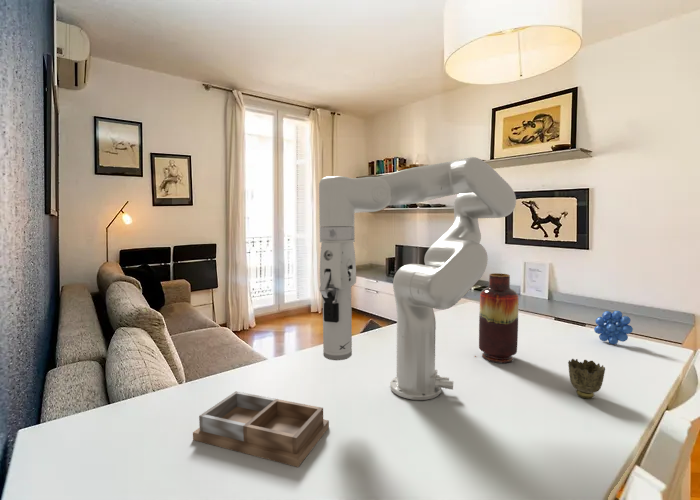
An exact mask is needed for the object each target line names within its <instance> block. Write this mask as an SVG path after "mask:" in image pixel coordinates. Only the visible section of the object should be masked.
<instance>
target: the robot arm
mask: <svg viewBox="0 0 700 500" xmlns="http://www.w3.org/2000/svg"><path fill="white" fill-rule="evenodd" d="M454 195H456V196H455V199H454V202H453V213H454V214H453V223H452V225H451V227H450V228H449V229H448V230H446V232H445V233H443V234H442V235H441V236H440V237H439V238H438V239H437V240H436V241H435V242H434V243H433V244H432V245H431V246H429V247H428V248H427V251H426V252H425V254H424V260H423V261H424V264H421V263H420V264H419V263H408V264H404V265H403V266H401V267H399V269H398V270H397V271H396V272H395V274H394V277H393V280H392V281H393V282H392V288H393V293H394V300H395V306H396V377H394V378H393V379H391V381H390V390H391V391H392V392H393V394H395V395H397V396H399V397H401V398H404V399H406V400H413V401H427V400H432V399H434V398H437V397H438V396H439V395H440V394H441V393H442V388H443V389H447V390H454V381H453V380H450V377H448V376H440V375H438V369H436V330H437V325H436V323H437V321H436V315H435V311H434V310H441V311H442V310H448V309H450V308H452V307H454V306H455V305H457V303H458V302H459V301H460V300H461V299H462V298H463V297H465V296H466V294H467V293H468V292H469V291H470V290H471V289H472V288H473V287H474V286H475V284H477V283H478V281H480V280H481V278H482V277H483V276H484V274H485V272H486V269H487V266H488V262H489V261H488V260H489V258H488V253H487V250H486V248H485V247H484V245H482V244H481V240H482V235H481V234H482V233H481V230H480V225H479V219H500V218H506V217H507V216H509V215H511V214H512V213H513V211H514V209H515V208H516V205H517V197H516V193H515V192H514V189H513V188H512V186H511V185H510V184H509V183H508V182H507V181H506V180H505V179H504V178H503V177H502V176H501V175H500V174H499V173H498V172H497V171H496V170H495V168H493V167H492V166H491V165H490V164H488V163H487V162H485V161H484V160H483V159H481V158H479V157H474V156H471V157H466V158H460V159H457V160H450V161H446V162H440V163H434V164H430V165H428V164H427V165H421V166H416V167H415V166H414V167H411V168H406V169H402V170H399V171H398V170H397V171H395V172H392V173H389V174H384V175H380V176H366V177H356V178H355V177H353V178H351V177H348V176H342V175H336V176H335V175H334V176H333V175H332V176H325V177H323V178H321V179H320V180H319V183H318V205H319V207H318V210H319V213H318V215H319V217H318V218H319V219H318V220H319V222H318V223H319V243H321V245H320V253H319V254H320V256H319V283H320V284H319V291H320V294H321V298H322V304H323V303H324V321H325V322H335V323H337V322H338V321H339V303H337V298H338V291H339V290H344V289H346V288H347V287H348V285H349V284H348V282H349V277H348V276H349V274H348V271H350V273H351V276H350V278H351V283H350V284H351V288H352V286H355V284H356V283H357V265H356V264H357V263H356V250H355V244H354V243H355V241H356V240H355V239H356V238H355V233H356V232H355V228H356V227H355V214H357V213H358V214H359V213H373V212H379V211H382V210H384V209H386V207H388V206H399V205H411V204H418V203H419V204H420V203H423V202H428V201H432V200H436V199H440V198H444V197H445V198H446V197H449V196H450V197H451V196H454ZM350 265H352V266H353V269H349V268H348V267H349V266H350ZM348 269H349V270H348ZM329 285H333V286H335V288H329ZM329 291H331V292H334V294H333V295H332V293H331V292H329Z"/></svg>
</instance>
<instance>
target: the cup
mask: <svg viewBox="0 0 700 500" xmlns="http://www.w3.org/2000/svg"><path fill="white" fill-rule="evenodd" d="M578 360H579V359H578V358H576V359H574V358H571V359H570V360H568V362H567V363H568V374H569V381H570V384H571V385H572V386H573V388H574V389H575V393H576V395H577V396H578V397H580V398H582V399H587V400H591V399H593V398H594V397H595V393H597V392H599V391H600V390H601V388H602V386H603V382H604V377H605V372H606V367H605V366H604V365H603V364H602V365H600V363H599V362H598V363H596V362H595V361H593V360H587V359H584V360H583V362H582V361H578Z"/></svg>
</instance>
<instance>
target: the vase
mask: <svg viewBox="0 0 700 500" xmlns="http://www.w3.org/2000/svg"><path fill="white" fill-rule="evenodd" d="M488 276H489V277H488V278H489V279H488V287H486V288H484V289H482V290H481V291H480V293H479V316H478V319H479V320H478V322H479V323H478V348H479V350H481V352H483V353H482V354H481V357H482V358H483V359H484V360H486V361H488V362H491V363H494V364H495V363H497V364H509V363H510V364H511V363H512V362H513V361H514V357H513V356H514V355H516V354H517V352H518V338H519V337H518V334H519V310H520V309H519V302H520V301H519V298H520V297H519V294H518V293H517V291H515V290H514V289H512V288H511V285H510V284H511V282H510V281H511V279H510V278H511V277H510V276H511V275H510V274H508V273H501V272H499V273H497V272H496V273H494V272H493V273H489V275H488Z"/></svg>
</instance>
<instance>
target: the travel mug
mask: <svg viewBox="0 0 700 500" xmlns="http://www.w3.org/2000/svg"><path fill="white" fill-rule="evenodd" d="M348 268H349V269H353V266H352V265H350V266H349V267H348ZM349 269H348V270H349ZM348 274H349V276H348V277H349V282H348V284H349V285H348V287H347V288H346V289H344V290H339V291H338V298H337V303H339V321H338V322H337V323H335V322H325V321H324V303H323V302H322V340H323V341H322V344H323V345H322V346H323V348H322V349H323V353H322V355H323V357H324V358H325V359H327V360H330V361H345V360H347V359H350V358H351V357H352V355H353V353H352V352H353V348H352V347H353V346H352V345H353V343H352V342H353V341H352V339H353V338H352V336H353V335H352V333H353V332H352V330H353V325H352V323H353V322H352V320H353V319H352V317H353V316H352V315H353V312H352V287H351V284H350V283H351V278H350V276H351V273H350V271H348ZM329 288H335V286H333V285H329ZM329 292H331V291H329ZM331 293H332V295H333V294H334V292H331Z"/></svg>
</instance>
